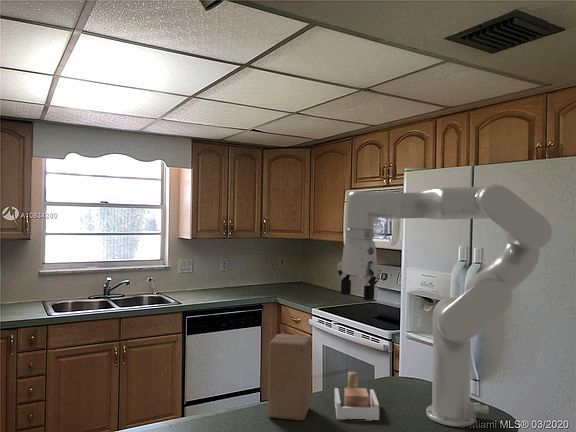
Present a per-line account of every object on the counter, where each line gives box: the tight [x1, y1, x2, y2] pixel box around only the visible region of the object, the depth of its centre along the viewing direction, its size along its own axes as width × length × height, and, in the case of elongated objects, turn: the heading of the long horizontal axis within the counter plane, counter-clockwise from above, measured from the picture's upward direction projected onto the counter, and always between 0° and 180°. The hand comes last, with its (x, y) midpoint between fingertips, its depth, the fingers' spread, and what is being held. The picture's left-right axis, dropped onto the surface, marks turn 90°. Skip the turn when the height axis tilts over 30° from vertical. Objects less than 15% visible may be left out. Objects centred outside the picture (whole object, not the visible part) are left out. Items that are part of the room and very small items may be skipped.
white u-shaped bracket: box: [333, 387, 380, 421], centre depth 129 cm, size 11×12×4 cm
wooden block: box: [267, 333, 312, 421], centre depth 127 cm, size 10×10×20 cm
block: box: [343, 371, 370, 407], centre depth 133 cm, size 6×15×7 cm, turn 177°
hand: (356, 297), depth 131 cm, fingers open, 9 cm apart
